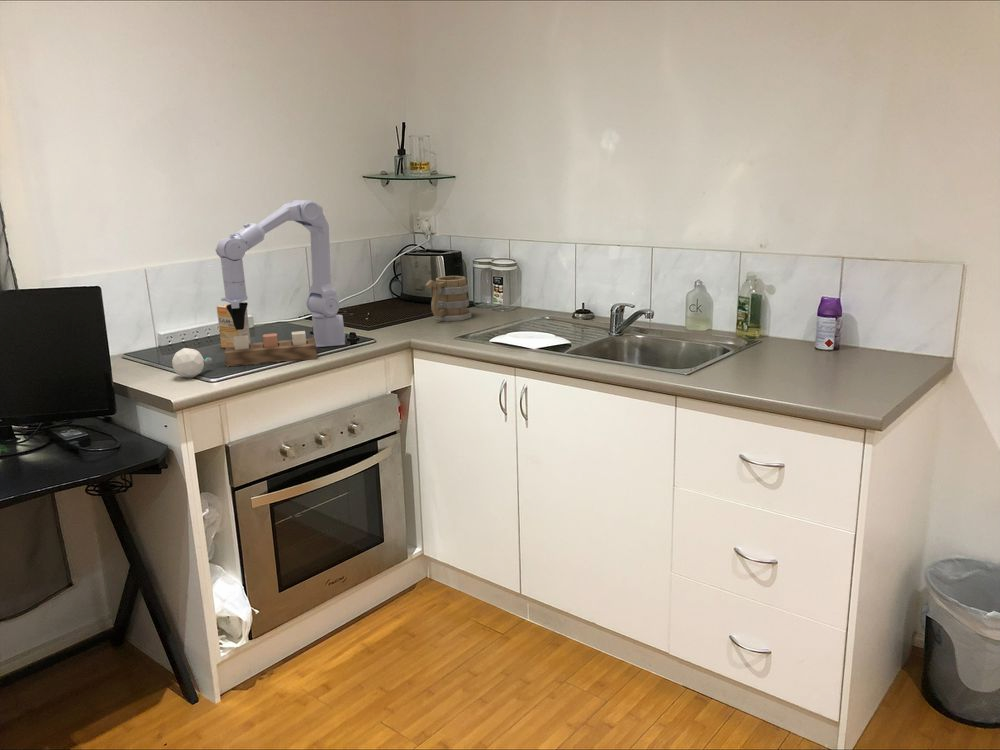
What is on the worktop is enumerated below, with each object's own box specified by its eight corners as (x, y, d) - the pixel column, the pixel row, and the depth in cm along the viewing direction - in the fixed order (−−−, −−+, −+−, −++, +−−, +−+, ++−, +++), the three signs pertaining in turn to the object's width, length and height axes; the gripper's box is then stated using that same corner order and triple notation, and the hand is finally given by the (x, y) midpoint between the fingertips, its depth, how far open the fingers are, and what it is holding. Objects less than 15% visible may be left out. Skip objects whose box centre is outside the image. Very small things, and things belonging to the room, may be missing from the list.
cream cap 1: (249, 348, 233) (248, 335, 232) (249, 351, 230) (247, 338, 229) (235, 349, 232) (234, 336, 232) (235, 352, 229) (233, 339, 228)
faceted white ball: (160, 365, 215) (194, 360, 226) (179, 386, 213) (213, 379, 224) (172, 343, 212) (206, 339, 223) (192, 363, 210) (225, 358, 221)
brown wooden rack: (315, 351, 242) (314, 337, 240) (317, 358, 232) (316, 345, 231) (228, 358, 236) (226, 345, 235) (226, 366, 226) (224, 353, 225)
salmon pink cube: (278, 345, 235) (276, 333, 234) (278, 348, 232) (276, 335, 231) (264, 346, 234) (263, 334, 233) (264, 349, 231) (262, 337, 230)
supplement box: (220, 348, 249) (215, 306, 245) (232, 344, 253) (227, 303, 250) (240, 350, 245) (235, 307, 242) (252, 346, 249) (247, 305, 246)
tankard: (450, 312, 293) (448, 271, 288) (477, 316, 285) (476, 273, 281) (413, 323, 277) (410, 279, 273) (441, 326, 270) (439, 282, 266)
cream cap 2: (306, 343, 237) (305, 330, 236) (306, 346, 234) (305, 333, 233) (292, 344, 236) (291, 332, 235) (293, 347, 233) (291, 334, 232)
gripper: (221, 278, 232) (226, 325, 235) (217, 286, 218) (223, 335, 222) (246, 277, 233) (251, 323, 237) (244, 284, 220) (250, 333, 223)
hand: (239, 329), depth 230 cm, fingers closed
